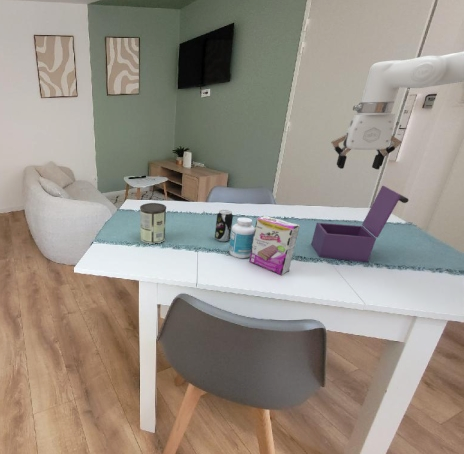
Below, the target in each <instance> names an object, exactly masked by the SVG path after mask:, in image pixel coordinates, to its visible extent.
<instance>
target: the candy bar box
mask: <svg viewBox="0 0 464 454" xmlns="http://www.w3.org/2000/svg"><path fill="white" fill-rule="evenodd" d="M300 226H301V225H300V224H297V223H293V222H290V221H286V220H283V219H279V218H276V217H272V216H268V215H266V214H264V215H262V216H259V217H257V218H256V221H255V226H254V228H255V231H254V237H253V243H252V249H251V254H250V257H249V260H248V262H249V263H251V264H252V265H253V264H254V265H256V266H258V267H261V268H263V269H266V270H268V271H270V272H272V273H275V274H278V275H280V276H283V275H284V274H286V273H287V272H289V271H290V268H291V263H292V259H293V255H294V250H295V247H296V243H297V238H298V235H299V230H300Z"/></svg>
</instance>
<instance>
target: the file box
mask: <svg viewBox="0 0 464 454" xmlns="http://www.w3.org/2000/svg"><path fill="white" fill-rule="evenodd" d="M376 240H377V237H375V236H374V235H373V234H371V233H370V232H369V231H368V230H367V229H366V228H365V227H364V226H363V225H356V224H355V225H353V224H352V225H351V224H339V223H329V222H328V223H327V222H326V223H325V222H316V224H315V227H314V230H313V235H312V239H311V246H312V248H313V249H314V251H315V253H316V254H317V256H318V257H319V258H322V259H323V258H324V259H333V260H343V261H351V262H359V263H360V262H361V263H368V262H369V260H370V257H371V255H372V251H373V249H374V245H375V243H376Z"/></svg>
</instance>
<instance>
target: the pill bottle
mask: <svg viewBox="0 0 464 454" xmlns="http://www.w3.org/2000/svg"><path fill="white" fill-rule="evenodd" d="M254 231H255V226H254V225H253V220H252V218H249V217H244V216H243V217H237V219H236V223H234V224H232V227H231V235H230V239H229V248H228V252H229V254H230V255H231V256H232V257H235V258H236V259H237V258H238V259H247V258H250V254H251V249H252V243H253V237H254Z"/></svg>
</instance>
